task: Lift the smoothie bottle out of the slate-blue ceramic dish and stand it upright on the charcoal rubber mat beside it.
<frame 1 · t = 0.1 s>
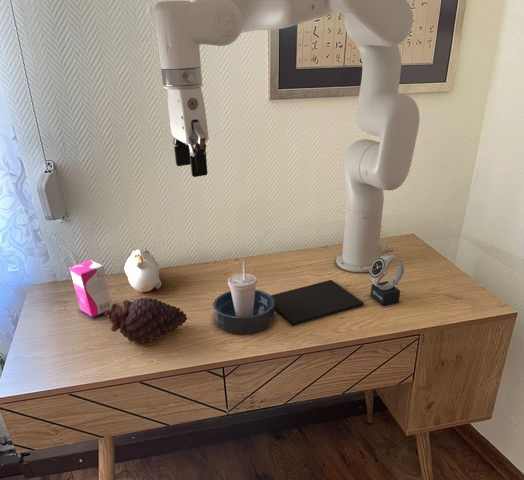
hand: (191, 170, 109), 31 cm above the table, tool pointing down, fingers open, 9 cm apart
mat: (313, 302, 125), on the table
watch: (384, 300, 125), on the table
cat figurine: (145, 285, 136), on the table
supplement box: (97, 311, 125), on the table
pine cone: (151, 337, 114), on the table
dish: (244, 319, 119), on the table
smoothie: (244, 318, 119), resting on dish
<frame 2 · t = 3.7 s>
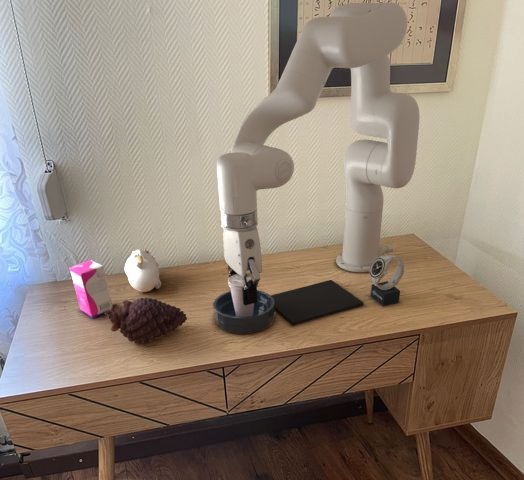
hand: (243, 296, 116), 6 cm above the table, tool pointing down, fingers closed on smoothie, 6 cm apart
smoothie: (244, 318, 119), resting on dish, touching gripper
everything else where it was.
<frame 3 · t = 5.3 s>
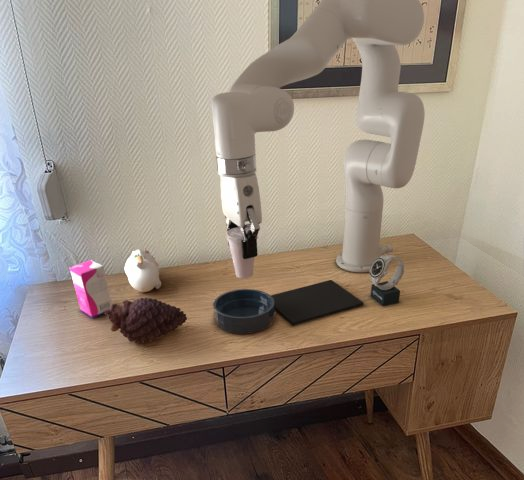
hand: (242, 250, 111), 16 cm above the table, tool pointing down, fingers closed on smoothie, 6 cm apart
smoothie: (244, 275, 114), point 11 cm above the table, touching gripper
everything else where it was.
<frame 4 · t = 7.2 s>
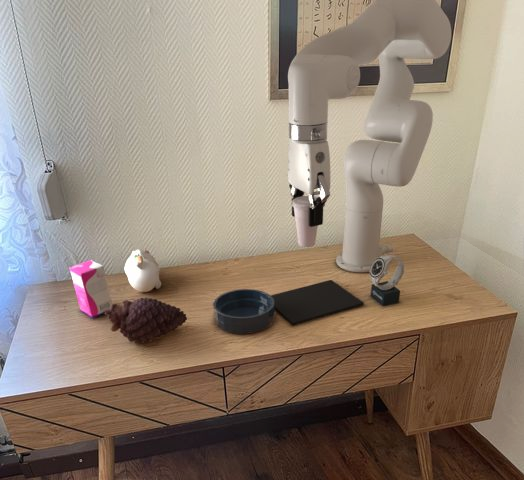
hand: (307, 219, 113), 21 cm above the table, tool pointing down, fingers closed on smoothie, 6 cm apart
smoothie: (306, 244, 116), point 15 cm above the table, touching gripper
everything else where it was.
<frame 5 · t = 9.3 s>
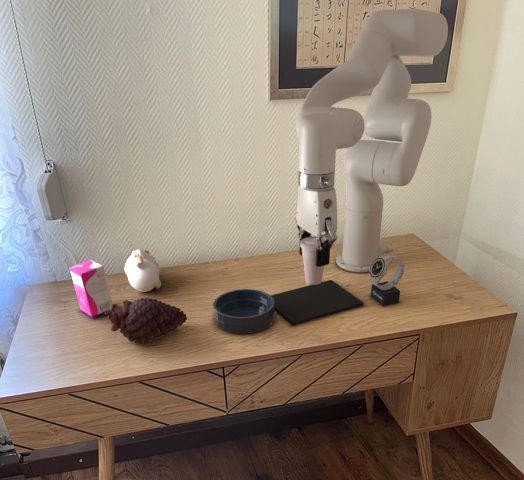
hand: (314, 259, 119), 11 cm above the table, tool pointing down, fingers closed on smoothie, 6 cm apart
smoothie: (313, 282, 122), point 6 cm above the table, touching gripper
everything else where it was.
when the fingers open (6 cm above the table, at t = 11.0 s): smoothie stays where it is, resting on mat.
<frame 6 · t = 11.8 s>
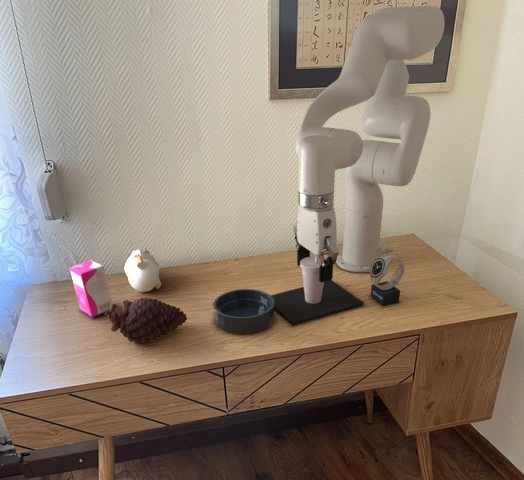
hand: (314, 272, 121), 8 cm above the table, tool pointing down, fingers open, 9 cm apart
smoothie: (313, 300, 125), point 1 cm above the table, touching mat
everything else where it was.
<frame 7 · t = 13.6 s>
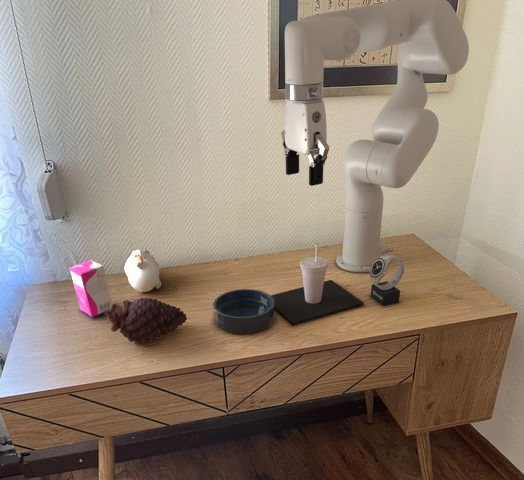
hand: (303, 179, 115), 27 cm above the table, tool pointing down, fingers open, 9 cm apart
nothing on the table moved.
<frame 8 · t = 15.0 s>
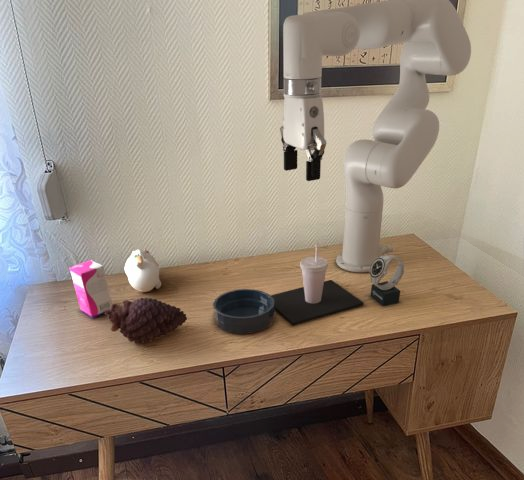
hand: (301, 174, 115), 28 cm above the table, tool pointing down, fingers open, 9 cm apart
nothing on the table moved.
at the end: smoothie inside the target area on the mat (0.0 cm from its centre), point 0.6 cm above the mat's base; smoothie tilted 0°; smoothie touching mat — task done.
